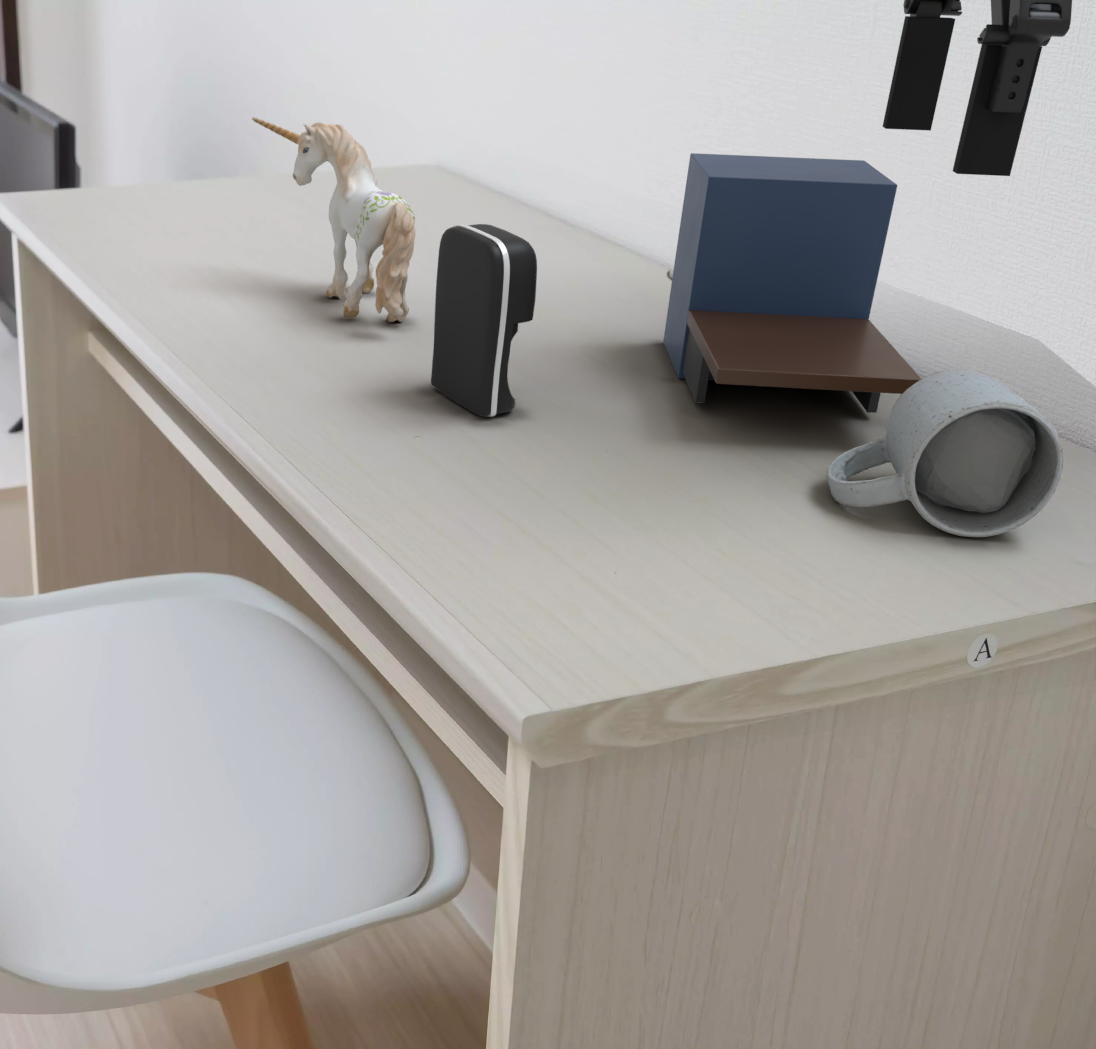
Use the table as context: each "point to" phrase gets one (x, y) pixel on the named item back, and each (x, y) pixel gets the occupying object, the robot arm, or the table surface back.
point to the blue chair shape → (782, 277)
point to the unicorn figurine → (358, 217)
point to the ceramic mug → (958, 457)
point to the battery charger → (480, 313)
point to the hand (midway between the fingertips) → (940, 150)
